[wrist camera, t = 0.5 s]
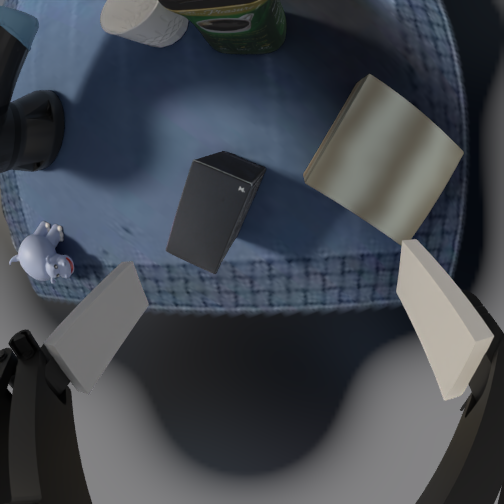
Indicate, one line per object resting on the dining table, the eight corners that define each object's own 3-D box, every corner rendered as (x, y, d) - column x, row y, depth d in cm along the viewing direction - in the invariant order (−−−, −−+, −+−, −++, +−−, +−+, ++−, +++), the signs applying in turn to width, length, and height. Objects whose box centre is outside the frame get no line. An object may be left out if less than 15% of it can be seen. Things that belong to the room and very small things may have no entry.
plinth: (303, 174, 32) (305, 183, 27) (356, 82, 26) (369, 73, 21) (389, 229, 34) (404, 248, 28) (440, 147, 27) (464, 152, 22)
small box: (220, 148, 32) (190, 156, 23) (267, 167, 33) (257, 183, 23) (194, 219, 37) (161, 251, 28) (237, 238, 37) (217, 277, 28)
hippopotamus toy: (88, 281, 46) (59, 308, 37) (42, 263, 47) (14, 284, 38) (81, 230, 41) (46, 253, 33) (34, 218, 42) (2, 236, 33)
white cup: (177, -4, 23) (144, -32, 14) (203, 28, 25) (173, 0, 16) (133, 29, 26) (92, 11, 17) (155, 62, 28) (113, 47, 19)
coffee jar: (288, 7, 23) (278, -81, 6) (285, 57, 26) (274, -15, 10) (212, 8, 24) (149, -63, 7) (207, 57, 27) (129, 5, 11)
